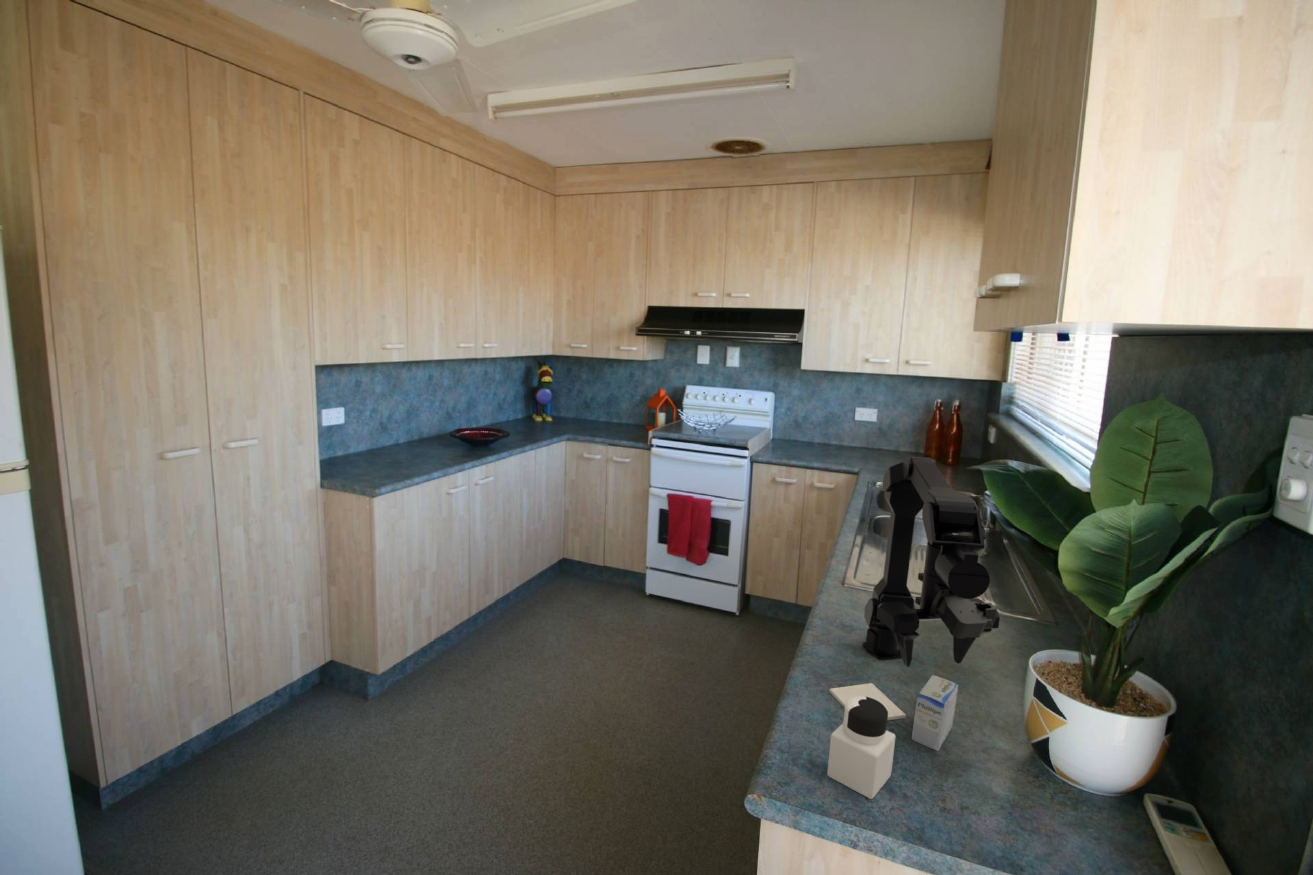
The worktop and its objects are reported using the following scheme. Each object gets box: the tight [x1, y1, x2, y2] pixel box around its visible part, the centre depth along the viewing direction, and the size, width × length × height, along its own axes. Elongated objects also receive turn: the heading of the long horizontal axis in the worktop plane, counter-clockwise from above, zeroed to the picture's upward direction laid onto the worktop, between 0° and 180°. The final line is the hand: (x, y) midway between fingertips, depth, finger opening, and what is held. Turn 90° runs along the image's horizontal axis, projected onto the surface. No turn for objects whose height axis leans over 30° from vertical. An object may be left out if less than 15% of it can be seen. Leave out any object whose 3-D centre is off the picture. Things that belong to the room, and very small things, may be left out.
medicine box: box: [911, 674, 959, 752], centre depth 105 cm, size 8×4×9 cm, turn 141°
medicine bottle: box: [826, 696, 896, 800], centre depth 94 cm, size 7×7×12 cm
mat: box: [829, 682, 907, 722], centre depth 114 cm, size 9×10×1 cm
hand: (932, 664), depth 103 cm, fingers open, 9 cm apart
